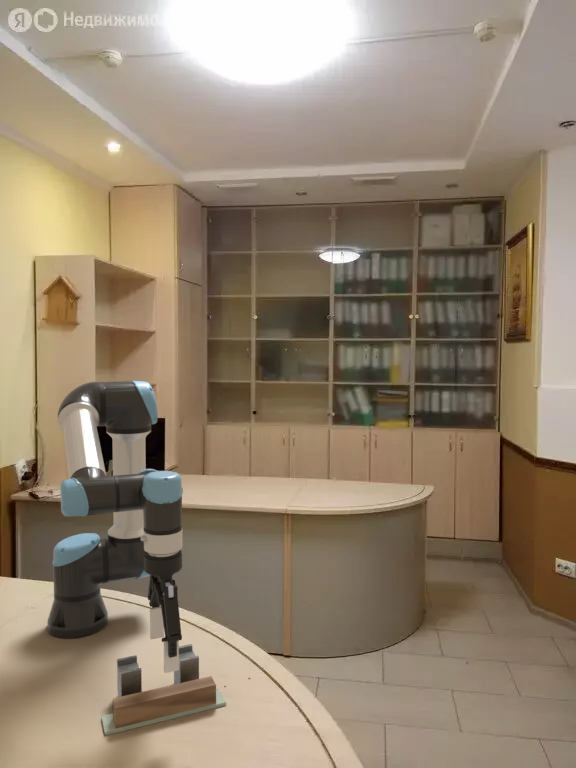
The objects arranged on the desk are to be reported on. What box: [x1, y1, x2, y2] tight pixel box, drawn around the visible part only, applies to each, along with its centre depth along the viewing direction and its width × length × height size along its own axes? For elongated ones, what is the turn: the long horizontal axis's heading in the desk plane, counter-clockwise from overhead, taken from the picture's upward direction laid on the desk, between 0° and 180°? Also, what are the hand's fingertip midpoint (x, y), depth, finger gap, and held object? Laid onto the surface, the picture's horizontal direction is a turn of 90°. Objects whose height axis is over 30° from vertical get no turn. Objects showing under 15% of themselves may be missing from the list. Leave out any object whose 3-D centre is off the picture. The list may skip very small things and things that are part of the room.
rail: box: [112, 675, 217, 728], centre depth 120 cm, size 4×20×4 cm, turn 114°
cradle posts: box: [116, 643, 200, 697], centre depth 126 cm, size 6×16×8 cm, turn 114°
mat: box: [101, 688, 227, 736], centre depth 120 cm, size 6×24×1 cm, turn 114°
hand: (163, 653), depth 120 cm, fingers open, 13 cm apart
